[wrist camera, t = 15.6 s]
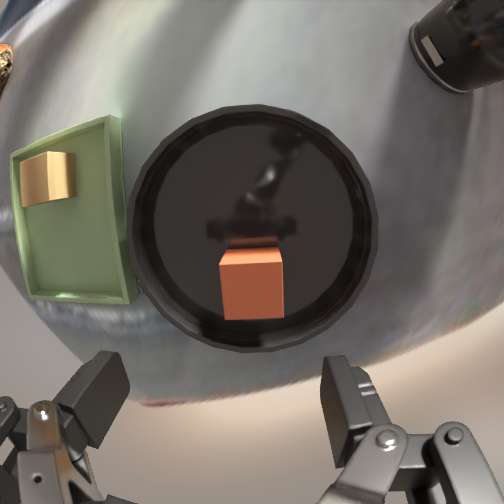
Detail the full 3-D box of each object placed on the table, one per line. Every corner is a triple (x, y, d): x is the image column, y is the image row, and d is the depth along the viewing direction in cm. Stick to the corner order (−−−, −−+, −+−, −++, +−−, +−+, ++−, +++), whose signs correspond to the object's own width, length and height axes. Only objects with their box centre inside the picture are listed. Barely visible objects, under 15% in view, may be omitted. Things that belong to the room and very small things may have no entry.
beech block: (75, 153, 22) (47, 151, 17) (77, 196, 23) (49, 200, 18) (47, 162, 22) (19, 162, 17) (49, 202, 23) (21, 207, 19)
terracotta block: (278, 246, 23) (282, 261, 19) (280, 295, 24) (283, 317, 20) (226, 249, 23) (218, 264, 19) (230, 297, 24) (224, 320, 20)
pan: (359, 114, 20) (372, 106, 18) (358, 327, 25) (367, 342, 22) (133, 130, 21) (118, 125, 19) (160, 335, 26) (150, 350, 23)
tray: (121, 118, 21) (109, 114, 19) (139, 295, 25) (130, 304, 23) (22, 154, 22) (9, 154, 20) (40, 292, 26) (29, 299, 24)
